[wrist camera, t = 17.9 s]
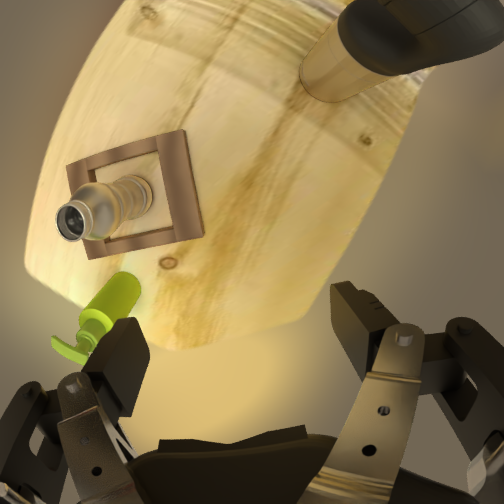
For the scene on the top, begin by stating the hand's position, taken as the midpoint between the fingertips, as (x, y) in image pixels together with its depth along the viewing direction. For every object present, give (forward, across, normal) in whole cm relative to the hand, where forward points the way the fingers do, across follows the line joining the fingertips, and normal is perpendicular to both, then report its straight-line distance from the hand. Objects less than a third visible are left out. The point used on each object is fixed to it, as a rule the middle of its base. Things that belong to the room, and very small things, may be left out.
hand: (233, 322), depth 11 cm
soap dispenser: (+33, +21, +10) cm, 41 cm away
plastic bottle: (+33, +15, -4) cm, 37 cm away
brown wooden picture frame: (+33, +15, -4) cm, 37 cm away
